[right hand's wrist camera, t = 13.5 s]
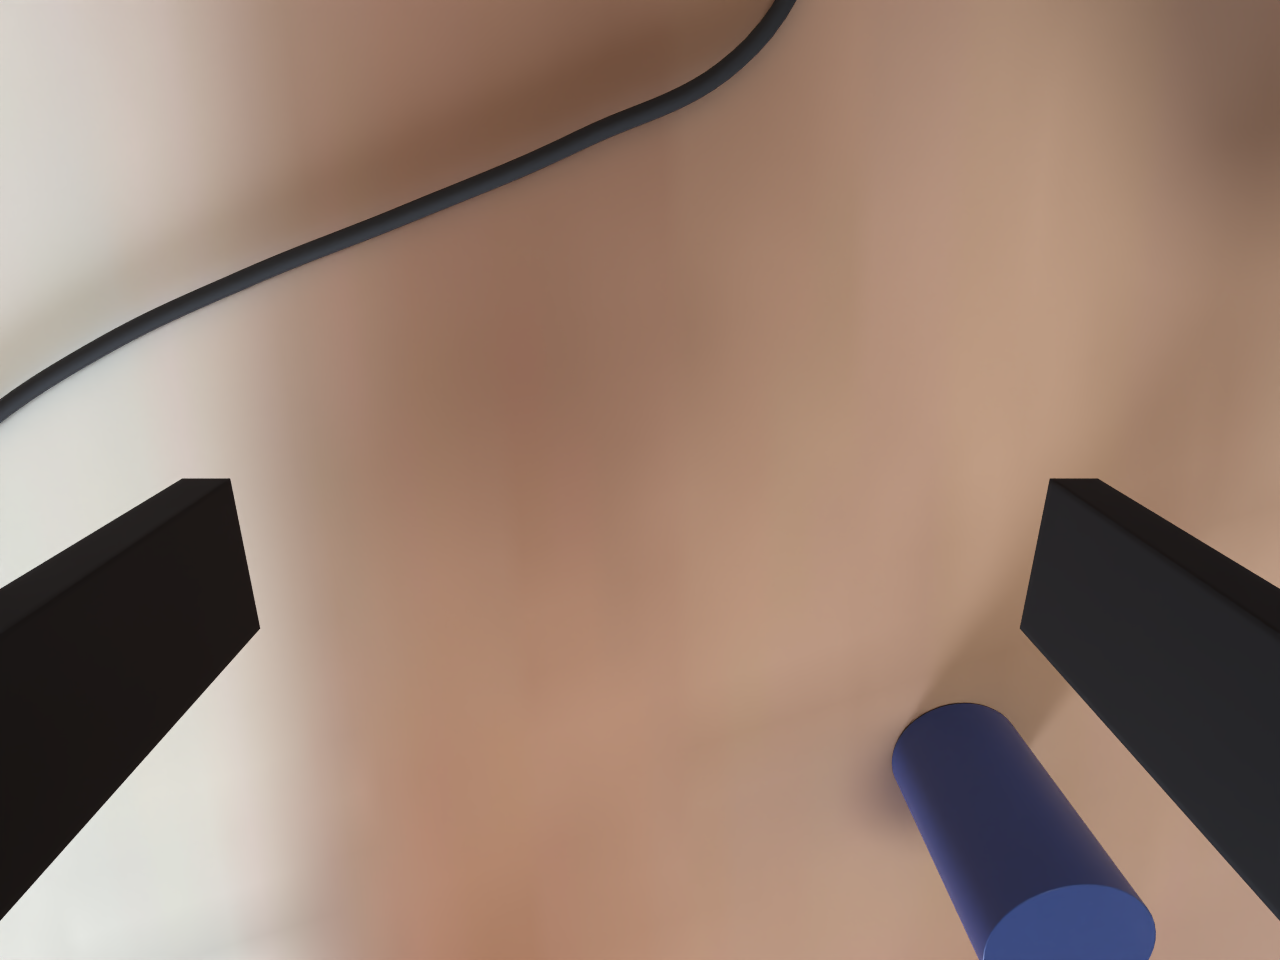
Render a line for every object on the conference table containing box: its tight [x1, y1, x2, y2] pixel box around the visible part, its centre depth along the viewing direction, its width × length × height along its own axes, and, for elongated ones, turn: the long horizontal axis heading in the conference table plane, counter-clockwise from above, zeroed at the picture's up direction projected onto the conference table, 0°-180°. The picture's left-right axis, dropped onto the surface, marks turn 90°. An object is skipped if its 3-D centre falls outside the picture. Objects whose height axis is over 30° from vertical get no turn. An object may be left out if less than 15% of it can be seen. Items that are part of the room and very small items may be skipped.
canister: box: [892, 703, 1156, 960], centre depth 37 cm, size 7×7×12 cm
